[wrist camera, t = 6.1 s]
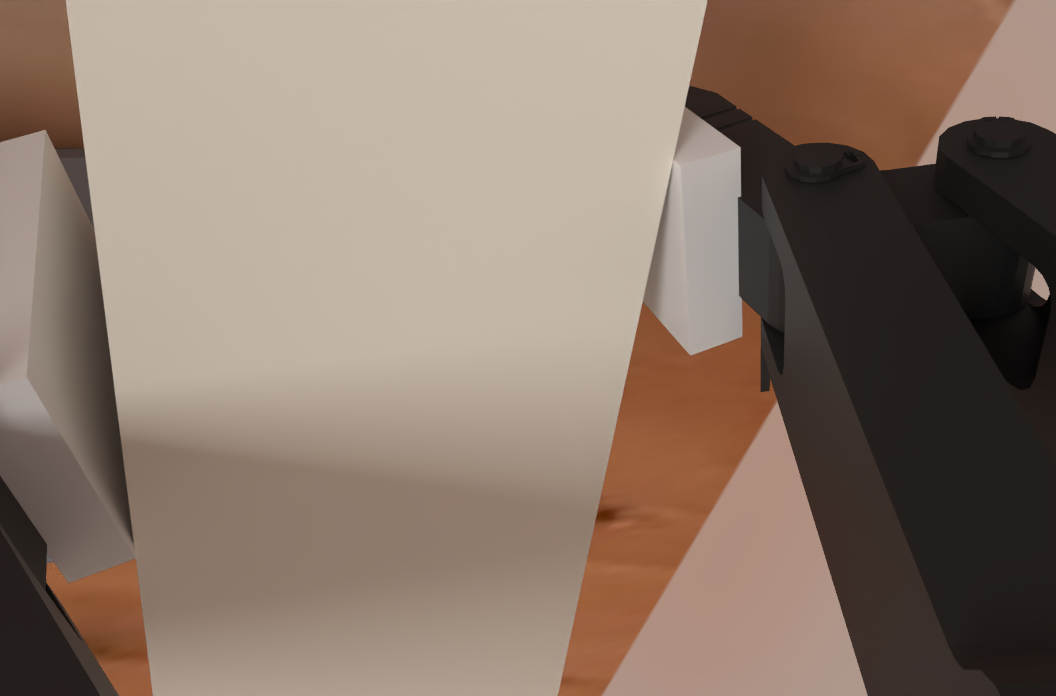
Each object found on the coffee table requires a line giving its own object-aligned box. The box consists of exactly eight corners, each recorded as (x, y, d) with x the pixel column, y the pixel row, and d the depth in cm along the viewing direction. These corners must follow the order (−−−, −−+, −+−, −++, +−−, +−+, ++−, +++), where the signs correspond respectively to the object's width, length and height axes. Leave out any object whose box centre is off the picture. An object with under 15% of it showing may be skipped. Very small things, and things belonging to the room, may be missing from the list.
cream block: (138, 441, 20) (164, 791, 14) (40, -428, 12) (-1, -520, 6) (424, 407, 22) (557, 696, 16) (487, -349, 14) (785, -360, 8)
